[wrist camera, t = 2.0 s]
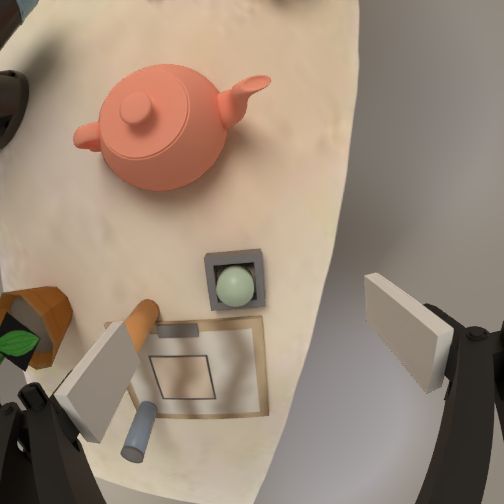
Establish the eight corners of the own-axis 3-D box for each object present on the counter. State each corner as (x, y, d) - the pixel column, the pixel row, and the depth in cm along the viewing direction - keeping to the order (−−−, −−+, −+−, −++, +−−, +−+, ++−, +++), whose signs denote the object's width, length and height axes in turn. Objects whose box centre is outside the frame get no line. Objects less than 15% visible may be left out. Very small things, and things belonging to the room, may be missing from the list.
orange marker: (140, 320, 38) (110, 367, 26) (135, 298, 37) (101, 341, 26) (162, 320, 38) (137, 368, 27) (157, 297, 37) (128, 341, 26)
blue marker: (142, 412, 42) (125, 461, 30) (136, 399, 41) (117, 448, 29) (160, 414, 42) (145, 464, 30) (155, 400, 41) (138, 452, 29)
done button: (220, 298, 36) (218, 308, 33) (216, 265, 35) (214, 273, 32) (254, 295, 36) (255, 305, 33) (251, 262, 35) (252, 270, 32)
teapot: (251, 63, 30) (257, 13, 18) (270, 173, 34) (286, 167, 22) (97, 100, 30) (48, 75, 18) (109, 204, 34) (57, 216, 22)
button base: (212, 302, 38) (211, 310, 35) (206, 253, 36) (204, 258, 34) (263, 298, 38) (265, 306, 36) (260, 248, 36) (261, 253, 34)
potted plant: (75, 240, 35) (-92, 326, 6) (114, 351, 39) (28, 497, 10) (8, 260, 35) (-112, 326, 6) (44, 353, 39) (-40, 452, 10)
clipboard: (140, 413, 43) (138, 418, 41) (106, 322, 38) (102, 326, 37) (268, 412, 43) (269, 417, 42) (261, 315, 39) (262, 319, 37)
